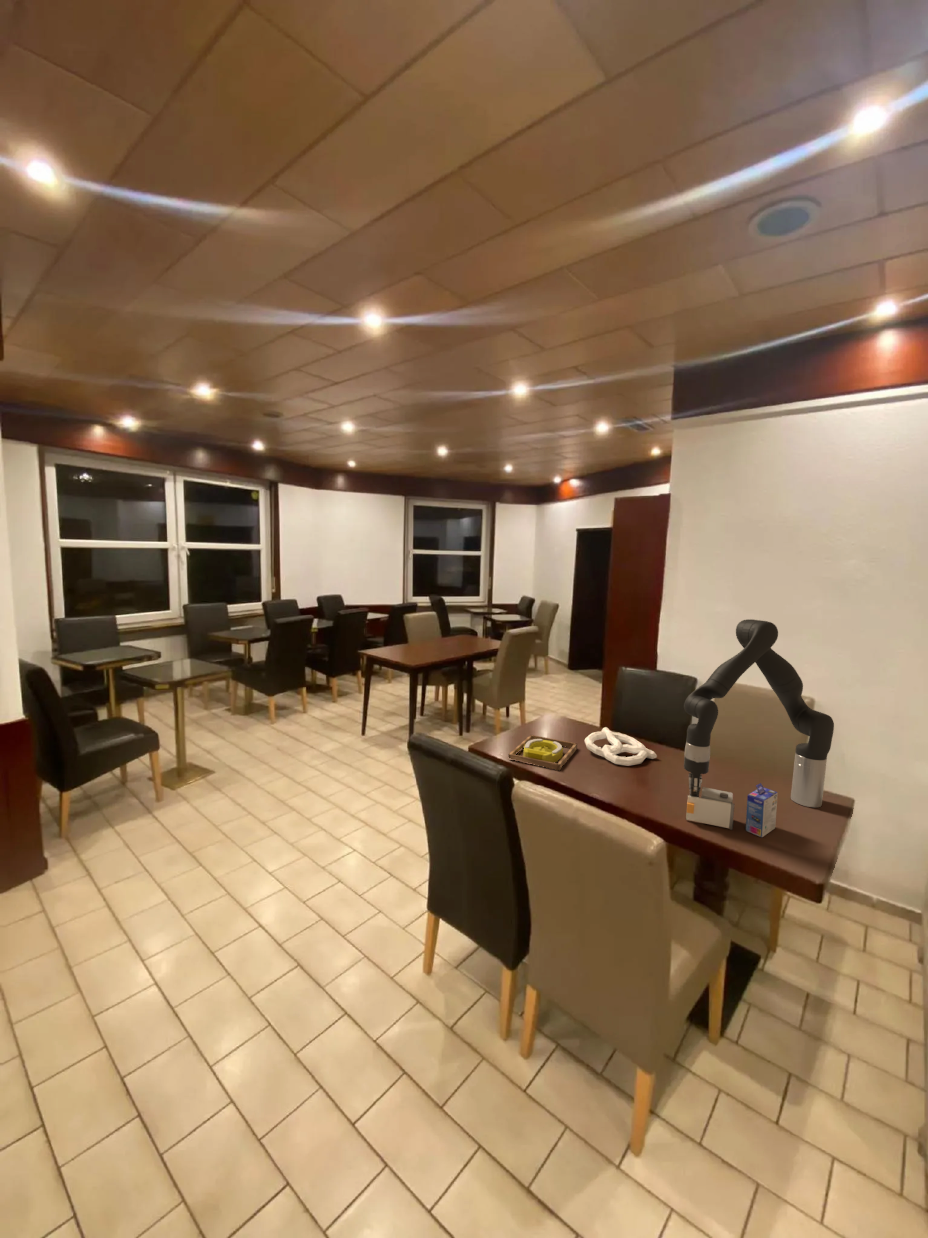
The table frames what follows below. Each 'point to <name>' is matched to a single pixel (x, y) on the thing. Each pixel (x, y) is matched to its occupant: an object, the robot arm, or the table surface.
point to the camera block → (717, 795)
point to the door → (710, 812)
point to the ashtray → (543, 750)
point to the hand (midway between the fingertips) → (693, 806)
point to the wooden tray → (540, 762)
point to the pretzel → (618, 747)
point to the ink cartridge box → (761, 811)
